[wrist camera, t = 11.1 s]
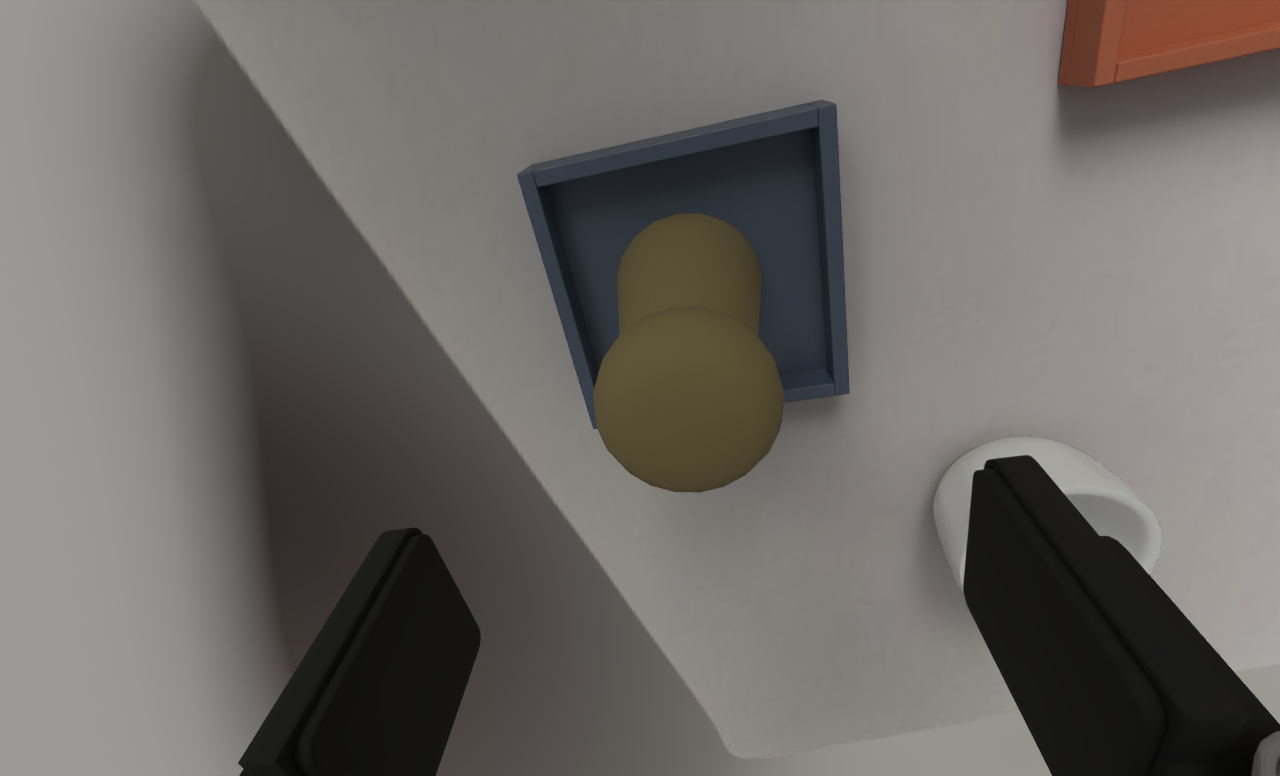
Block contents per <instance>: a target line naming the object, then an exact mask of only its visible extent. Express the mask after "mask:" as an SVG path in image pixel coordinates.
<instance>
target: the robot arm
mask: <svg viewBox="0 0 1280 776" xmlns="http://www.w3.org/2000/svg"><path fill="white" fill-rule="evenodd" d="M963 590H964V596H965V600H966V603H967V606H968V608H969V610H970V612H971V614H972V616H973V618H974V620H975V622H976V624H977V626H978V628H979V630H980V632H981V634H982V636H983V638H984V640H985V642H986V644H987V646H988V648H989V650H990V652H991V654H992V656H993V658H994V660H995V662H996V664H997V666H998V668H999V670H1000V672H1001V674H1002V676H1003V678H1004V680H1005V682H1006V684H1007V686H1008V688H1009V690H1010V692H1011V694H1012V696H1013V698H1014V700H1015V702H1016V704H1017V706H1018V708H1019V710H1020V712H1021V714H1022V716H1023V718H1024V720H1025V722H1026V724H1027V726H1028V728H1029V730H1030V732H1031V734H1032V736H1033V738H1034V740H1035V742H1036V744H1037V746H1038V748H1039V750H1040V752H1041V754H1042V756H1043V758H1044V760H1045V762H1046V764H1047V766H1048V768H1049V770H1050V772H1051V774H1052V776H1280V724H1279V723H1278V722H1277V721H1276V720H1275V718H1274V717H1273V716H1272V715H1271V714H1270V713H1269V712H1268V710H1267V709H1266V708H1265V707H1264V706H1263V705H1262V703H1260V701H1259V700H1258V699H1257V698H1256V697H1255V695H1254V694H1253V693H1252V692H1251V691H1250V690H1249V689H1248V687H1247V686H1246V685H1245V684H1244V683H1243V682H1242V681H1241V679H1240V678H1239V677H1238V676H1237V675H1236V674H1235V673H1234V671H1233V670H1232V669H1231V668H1230V667H1229V666H1228V665H1227V663H1226V662H1225V661H1224V660H1223V659H1222V658H1221V656H1220V655H1219V654H1218V653H1217V652H1216V651H1215V650H1214V648H1213V647H1212V646H1211V645H1210V644H1209V643H1208V642H1207V640H1206V639H1205V638H1204V637H1203V636H1202V635H1201V634H1200V632H1199V631H1198V630H1197V629H1196V628H1195V627H1194V626H1193V624H1192V623H1191V622H1190V621H1189V620H1188V619H1187V618H1186V616H1185V615H1184V614H1183V613H1182V612H1181V611H1180V610H1179V608H1178V607H1177V606H1176V605H1175V604H1174V603H1173V601H1172V600H1171V599H1170V598H1169V597H1168V596H1167V595H1166V593H1165V592H1164V591H1163V590H1162V589H1161V588H1160V587H1159V585H1158V584H1157V583H1156V582H1155V581H1154V580H1153V579H1152V577H1151V576H1150V575H1149V574H1148V573H1147V572H1146V571H1145V569H1144V568H1143V567H1142V566H1141V565H1140V564H1139V563H1138V561H1137V560H1136V559H1135V558H1134V557H1133V556H1132V554H1131V553H1130V552H1129V551H1128V550H1127V549H1126V548H1125V547H1124V546H1123V545H1122V544H1121V543H1120V542H1119V541H1118V540H1116V539H1114V538H1112V537H1110V536H1099V535H1098V533H1097V532H1096V531H1095V530H1094V529H1093V527H1092V526H1091V525H1090V524H1089V523H1088V521H1087V520H1086V519H1085V518H1084V517H1083V516H1082V514H1081V513H1080V512H1079V511H1078V510H1077V508H1076V507H1075V506H1074V505H1073V504H1072V502H1071V501H1070V500H1069V499H1068V498H1067V496H1066V495H1065V494H1064V493H1063V492H1062V491H1061V489H1060V488H1059V487H1058V486H1057V485H1056V483H1055V482H1054V481H1053V480H1052V479H1051V477H1050V476H1049V475H1048V474H1047V473H1046V472H1045V470H1044V469H1043V468H1042V467H1041V466H1040V464H1039V463H1038V462H1037V461H1036V460H1035V459H1034V458H1033V457H1032V456H1029V455H1021V456H1013V457H1004V458H996V459H989V460H987V461H986V463H985V465H984V469H983V470H976V471H975V472H974V474H973V481H972V492H971V503H970V514H969V526H968V537H967V548H966V559H965V570H964V581H963ZM480 640H481V639H480V629H479V627H478V625H477V623H476V621H475V619H474V617H473V615H472V614H471V612H470V610H469V608H468V606H467V604H466V603H465V601H464V599H463V597H462V595H461V594H460V591H459V589H458V587H457V586H456V584H455V582H454V580H453V578H452V576H451V574H450V573H449V571H448V569H447V567H446V565H445V563H444V562H443V560H442V558H441V556H440V554H439V552H438V550H437V549H436V547H435V545H434V543H433V541H432V539H431V538H430V537H429V536H428V535H424V534H423V533H422V532H421V531H420V530H419V529H417V528H407V529H399V530H390V531H386V532H383V533H382V534H381V535H380V536H379V538H378V539H377V541H376V542H375V544H374V545H373V547H372V549H371V550H370V552H369V553H368V555H367V557H366V558H365V560H364V562H363V563H362V565H361V566H360V568H359V570H358V571H357V573H356V574H355V576H354V578H353V579H352V581H351V583H350V584H349V586H348V587H347V589H346V590H345V592H344V594H343V595H342V597H341V599H340V600H339V602H338V604H337V605H336V607H335V608H334V610H333V611H332V613H331V615H330V616H329V618H328V619H327V621H326V623H325V624H324V626H323V627H322V629H321V631H320V632H319V634H318V636H317V637H316V639H315V640H314V642H313V644H312V645H311V647H310V648H309V650H308V652H307V653H306V655H305V656H304V658H303V660H302V661H301V663H300V664H299V666H298V668H297V669H296V671H295V673H294V674H293V676H292V677H291V679H290V680H289V682H288V684H287V685H286V687H285V689H284V690H283V692H282V694H281V695H280V697H279V698H278V700H277V702H276V703H275V705H274V706H273V708H272V709H271V711H270V713H269V714H268V716H267V718H266V719H265V721H264V722H263V724H262V726H261V727H260V729H259V731H258V732H257V734H256V735H255V737H254V738H253V740H252V742H251V743H250V745H249V747H248V748H247V750H246V751H245V753H244V755H243V756H242V758H241V759H240V761H239V763H238V764H239V765H241V767H243V768H244V769H243V771H242V772H241V774H240V776H436V773H437V770H438V767H439V764H440V761H441V758H442V755H443V753H444V750H445V747H446V744H447V741H448V738H449V735H450V732H451V729H452V726H453V723H454V720H455V717H456V714H457V711H458V709H459V706H460V702H461V700H462V697H463V694H464V691H465V688H466V685H467V682H468V679H469V676H470V674H471V671H472V668H473V665H474V662H475V659H476V656H477V653H478V650H479V646H480Z"/></svg>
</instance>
